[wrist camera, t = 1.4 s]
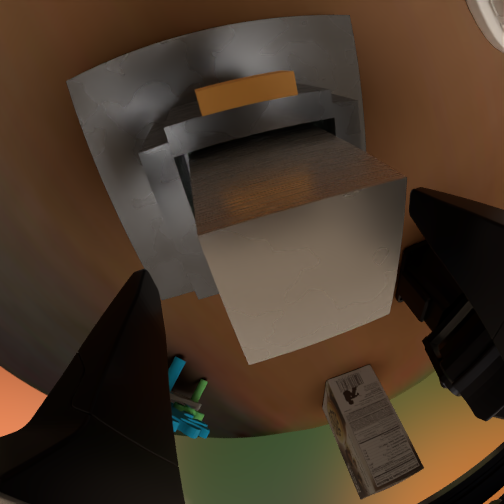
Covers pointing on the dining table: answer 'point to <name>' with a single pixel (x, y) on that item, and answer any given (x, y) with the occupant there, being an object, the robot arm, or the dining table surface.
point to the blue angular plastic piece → (181, 413)
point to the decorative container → (489, 20)
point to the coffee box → (368, 432)
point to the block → (297, 235)
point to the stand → (207, 121)
